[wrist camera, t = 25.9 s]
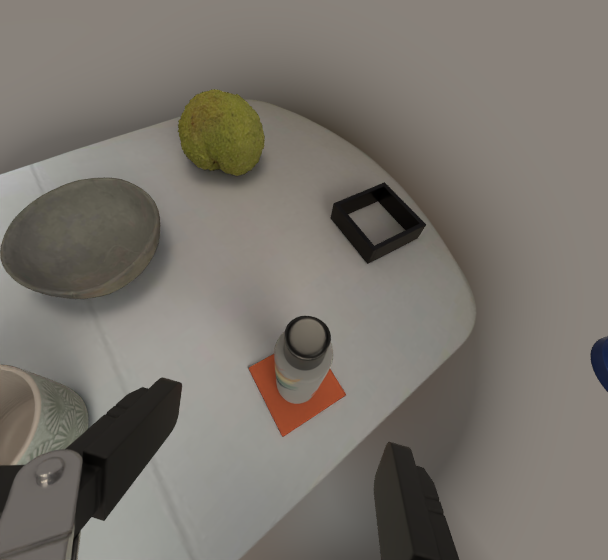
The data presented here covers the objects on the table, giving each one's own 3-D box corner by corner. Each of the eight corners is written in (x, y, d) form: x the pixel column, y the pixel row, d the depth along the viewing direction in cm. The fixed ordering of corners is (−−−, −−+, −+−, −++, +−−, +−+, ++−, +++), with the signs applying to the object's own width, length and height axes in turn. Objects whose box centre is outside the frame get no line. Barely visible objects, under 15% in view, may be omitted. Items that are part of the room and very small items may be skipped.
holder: (417, 238, 56) (426, 224, 52) (367, 264, 52) (373, 250, 49) (378, 197, 61) (384, 182, 57) (330, 218, 57) (333, 203, 53)
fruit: (191, 196, 57) (146, 111, 48) (211, 172, 69) (178, 99, 60) (269, 175, 54) (237, 80, 45) (277, 153, 65) (253, 73, 57)
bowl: (200, 262, 50) (187, 232, 43) (76, 345, 42) (35, 324, 35) (135, 194, 57) (114, 159, 50) (17, 254, 49) (-27, 222, 42)
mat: (345, 395, 41) (346, 394, 41) (282, 436, 38) (282, 436, 38) (308, 335, 45) (308, 334, 44) (248, 368, 42) (248, 367, 41)
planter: (-7, 404, 38) (-104, 389, 28) (98, 371, 40) (43, 347, 31) (-20, 519, 32) (-147, 548, 23) (103, 471, 35) (36, 479, 26)
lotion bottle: (320, 367, 42) (347, 310, 25) (312, 409, 39) (337, 378, 22) (282, 357, 42) (282, 295, 25) (271, 398, 40) (263, 360, 22)
